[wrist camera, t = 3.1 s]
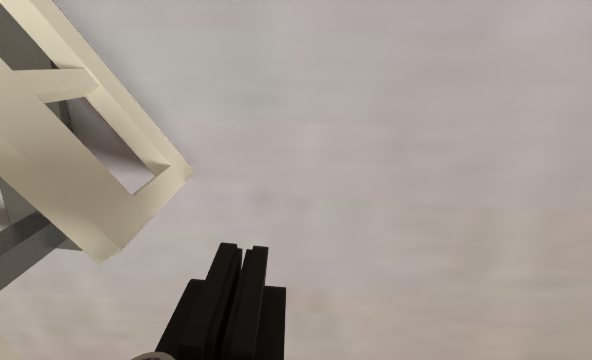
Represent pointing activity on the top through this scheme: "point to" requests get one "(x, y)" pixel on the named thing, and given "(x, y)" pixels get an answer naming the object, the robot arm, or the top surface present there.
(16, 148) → the gate
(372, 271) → the top surface
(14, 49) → the gate frame
